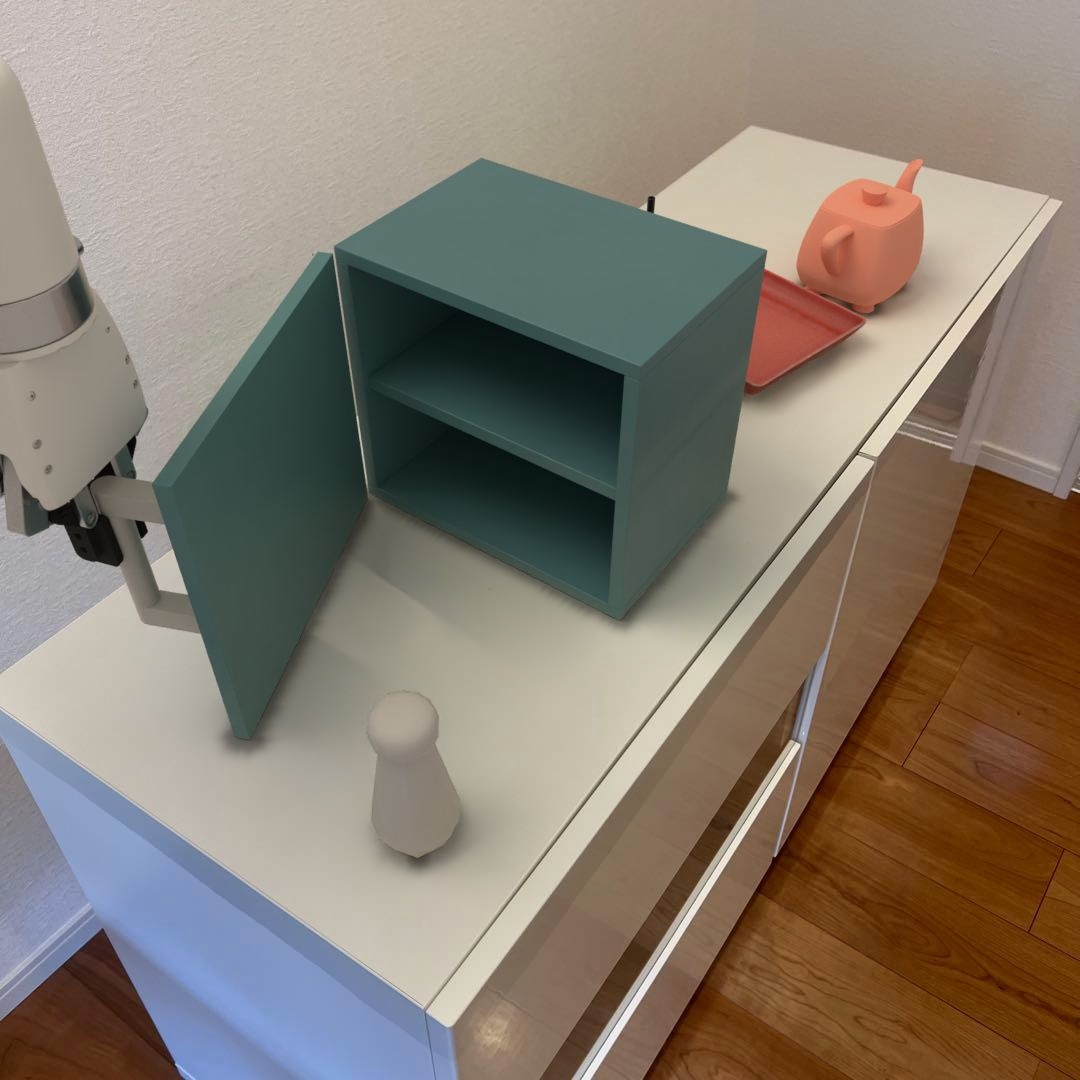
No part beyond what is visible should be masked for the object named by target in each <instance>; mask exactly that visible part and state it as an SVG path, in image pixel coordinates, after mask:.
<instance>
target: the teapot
mask: <svg viewBox="0 0 1080 1080" xmlns="http://www.w3.org/2000/svg"><path fill="white" fill-rule="evenodd" d="M923 164H924V160H923V159H921V158H917V159H914V160H912V161H910V162H909V163H908V164H907V166H906V167H905V169H903V171H902V174H901V175H900V177H899V179H898V180H897V181H896V184H895V185H894V186H892V185H890V184H886V183H882V182H880V181H876V180H872V179H868V178H857V179H853V180H851V181H848V182H846V183H845V184H843V185H841V186H839V187H837V188H836V189H835V190H834V191H832V192H831V193H830V194H829V195H827V197H826V198H825V199H824V200H823V201H822V203H821V205H820V206H819V208H818V210H817V211H816V213H815V214H814V217H813V218H812V220H811V222H810V224H809V225H808V227H807V230H806V231H805V234H804V236H803V238H802V241H801V243H800V247H799V250H798V253H797V258H796V265H795V266H796V272H797V275H798V278H799V280H800V282H801V283H802V284H803V285H805V286H804V288H806V289H807V290H810V291H811V292H813V293H816V294H818V295H824V294H825V295H828V296H830V297H833V298H835V299H838V300H841V301H844V302H846V303H849V304H851V307H852V309H853V310H854V311H856V312H859V313H861V314H870V313H872V312H874V310H875V305H877V304H880V303H882V302H883V301H885V300H887V299H888V298H890V297H892V296H893V295H895V294H896V293H898V292H899V291H900V290H901V289H902V288H903V287H904V286H905V284H906V283H907V282H908V281H909V280H910V279H911V278H912V276H913V275H914V273H915V271H916V270H917V268H918V265H919V263H920V260H921V257H922V253H923V252H922V251H923V246H924V236H925V235H924V234H925V222H924V208H923V201H922V198H921V197H920V196H919V195H917V194H915V193H913V190H914V185H915V182H916V178H917V175H918V173H919V172H920V170H921V168H922V167H923Z"/></svg>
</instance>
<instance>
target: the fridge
mask: <svg viewBox="0 0 1080 1080" xmlns="http://www.w3.org/2000/svg"><path fill="white" fill-rule="evenodd" d="M333 251H334V260H335V265H336V266H335V267H336V274H337V281H338V288H339V295H340V302H341V307H342V308H341V309H342V316H343V323H344V330H345V337H346V344H347V351H348V356H349V357H348V358H349V365H350V372H351V379H352V386H353V393H354V400H355V407H356V414H357V421H358V428H359V432H360V433H359V435H360V439H361V440H360V442H361V449H362V456H363V463H364V470H365V477H366V483H367V492H368V494H370V495H372V496H374V497H376V498H378V499H379V500H381V501H383V502H386V504H390V505H391V506H393V507H395V508H397V509H400V511H403V512H405V513H407V514H408V515H411V516H413V517H415V518H417V519H419V520H421V521H423V522H425V523H427V524H429V525H431V526H433V527H434V528H436V529H438V530H441V531H442V532H444V533H446V534H448V535H450V536H452V537H454V538H456V539H458V540H460V541H462V542H463V543H466V544H468V545H470V546H471V547H474V548H475V549H478V550H480V551H482V552H484V553H486V554H488V555H489V556H492V557H493V558H495V559H497V560H500V561H502V562H503V563H505V564H507V565H509V566H511V567H513V568H515V569H517V570H518V571H521V572H523V573H525V574H527V575H529V576H530V577H533V578H534V579H536V580H539V581H541V582H542V583H544V584H546V585H549V586H550V587H552V588H554V589H557V590H558V591H561V592H562V593H564V594H566V595H568V596H570V597H572V598H574V599H576V600H578V601H580V602H582V603H584V604H586V605H588V606H589V607H591V608H593V609H596V610H598V611H599V612H602V613H603V614H605V615H608V616H609V617H612V619H615V620H617V621H621V620H622V619H623V618H624V617H625V616H626V614H627V613H628V612H629V610H631V608H632V607H633V606H634V605H635V604H636V602H637V601H638V600H640V598H641V597H642V596H643V595H644V593H645V592H646V591H647V590H648V588H649V587H650V586H651V585H652V584H653V583H654V581H655V580H656V579H658V577H659V576H660V574H661V573H662V572H663V571H664V570H665V569H666V568H667V567H668V565H669V564H671V562H672V561H673V560H674V558H675V557H676V556H677V555H678V554H679V552H680V551H681V550H682V549H683V548H684V547H685V546H686V544H687V543H688V542H689V541H690V540H691V538H693V536H695V534H696V533H697V531H698V530H699V529H700V528H701V527H702V526H703V524H705V522H706V521H708V519H709V518H710V517H711V516H712V514H713V513H714V512H715V511H716V509H717V508H718V507H719V506H720V505H721V504H722V503H723V502H724V500H725V499H726V498H727V495H728V488H729V484H730V483H729V482H730V476H731V471H732V465H733V459H734V452H735V447H736V441H737V435H738V429H739V424H740V417H741V411H742V406H743V400H744V399H743V398H744V394H745V392H744V388H745V382H746V376H747V370H748V364H749V358H750V352H751V346H752V341H753V335H754V329H755V323H756V317H757V311H758V305H759V299H760V293H761V287H762V281H763V275H764V269H766V261H767V255H768V249H766V248H762V247H760V246H756V245H753V244H749V243H747V242H744V241H741V240H739V239H735V238H731V237H729V236H725V235H722V234H719V233H716V232H713V231H710V230H707V229H703V228H702V227H701V228H700V227H697V226H694V225H691V224H689V223H685V222H682V221H678V220H675V219H673V218H669V217H666V216H663V215H660V214H657V213H655V212H654V213H651V212H648V211H647V210H645V209H642V208H638V207H635V206H632V205H629V204H626V203H622V202H620V201H616V200H613V199H610V198H607V197H604V196H601V195H598V194H595V193H593V192H589V191H585V190H583V189H579V188H576V187H574V186H570V185H567V184H563V183H561V182H558V181H555V180H551V179H549V178H546V177H543V176H539V175H536V174H533V173H530V172H527V171H524V170H520V169H517V168H514V167H511V166H509V165H505V164H502V163H499V162H496V161H493V160H490V159H488V158H487V159H486V158H483V157H480V158H478V159H477V160H475V161H473V162H471V163H470V164H468V165H466V166H465V167H463V168H462V169H460V170H458V171H456V172H455V173H453V174H452V175H450V176H448V177H447V178H444V179H443V180H441V181H440V182H438V183H437V184H434V185H433V186H431V187H430V188H428V189H426V190H425V191H423V192H421V193H420V194H418V195H416V196H415V197H413V198H411V199H409V200H408V201H406V202H404V203H403V204H401V205H400V206H398V207H396V208H394V209H393V210H391V211H389V212H388V213H386V214H385V215H382V216H381V217H380V218H377V219H376V220H374V221H373V222H371V223H370V224H368V225H366V226H364V227H362V228H361V229H359V230H358V231H355V233H354V232H353V234H351V235H349V236H348V237H346V238H344V239H343V240H341V241H339V242H338V243H336V244H334V245H333Z"/></svg>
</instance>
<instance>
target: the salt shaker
mask: <svg viewBox="0 0 1080 1080" xmlns="http://www.w3.org/2000/svg"><path fill="white" fill-rule="evenodd" d="M366 719H367V721H366V736H367V740H368V742H369V744H370V746H371V748H372V750H373V752H374V753H375V754H376V763H375V764H376V765H375V773H374V774H375V775H374V784H373V792H372V802H371V817H370V821H371V823H372V825H373V828H374V829H375V831H376V833H377V836H378V837H379V840H380V841H381V842H383V843H384V844H385V845H387V846H388V847H390V848H391V849H393V850H395V851H396V852H400V853H402V854H403V853H404V854H406V855H408V856H410V857H412V858H416V859H418V858H421V857H423V856H425V855H428V854H429V853H432V852H433V851H436V850H438V849H440V848H442V847H444V845H445V844H446V843H447V842H448V841H449V839H450V838H451V837H452V834H453V832H454V830H455V828H456V827H457V825H458V823H459V820H460V812H461V811H460V806H461V805H460V804H461V798H460V796H459V794H458V791H457V789H456V788H455V787H456V786H455V785H454V783H453V781H452V778H451V776H450V774H449V771H448V769H447V767H446V765H445V763H444V760H443V758H442V756H441V754H440V751H439V749H438V747H437V745H436V742H437V740H438V739H439V737H440V736H439V734H440V733H439V732H440V716H439V713H438V711H437V709H436V708H435V706H434V703H433V702H432V701H431V699H429V698H428V697H426V696H425V695H423V694H422V693H420V692H417V691H411V690H404V689H403V690H399V691H393V692H389V693H387V694H385V695H384V696H382V697H380V698H379V699H377V700H376V701H374V703H373V705H372V706H371V708H370V709H369V711H368V712H367V718H366Z"/></svg>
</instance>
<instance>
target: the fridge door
mask: <svg viewBox="0 0 1080 1080" xmlns="http://www.w3.org/2000/svg"><path fill="white" fill-rule="evenodd" d="M335 265H336V264H335V257H334V253H332V252H324V251H317V252H316V253H315V255H314V256H313V258H312V259H311V260H310V261H309V263H308V265H306V267H305V269H304V270H303V271H302V272H301V275H300V276H299V277H298V278H297V280H296V281H295V282H294V284H293V285H292V287H291V288H290V289H289V291H288V292H287V294H286V295H285V297H284V298H283V299H282V301H281V302H280V304H279V305H278V307H276V309H275V311H274V312H273V313H272V315H271V316H270V317H269V319H268V321H266V324H265V325H264V326H263V327H262V329H261V330H260V331H259V333H258V334H257V336H256V337H255V339H253V342H251V344H250V346H249V347H248V349H247V350H246V351H245V353H244V354H243V356H242V357H241V358H240V360H239V361H238V362H237V363H236V365H235V367H234V368H233V369H232V371H231V372H230V373H229V375H228V376H227V377H226V379H225V381H224V382H223V383H222V385H221V386H220V387H219V389H218V390H217V392H216V393H215V395H214V396H213V397H212V399H211V400H210V401H209V403H208V404H207V406H205V408H204V410H203V411H202V413H201V414H200V415H199V417H198V419H197V420H196V421H195V423H194V424H193V426H192V427H191V428H190V430H189V431H188V432H187V434H186V435H185V437H184V438H183V439H182V441H181V442H180V444H179V445H177V446H178V447H177V448H176V449H175V451H173V453H172V455H171V456H170V457H169V459H168V460H167V462H166V463H165V465H164V466H163V467H162V468H161V470H160V471H159V472H158V474H157V476H156V477H155V479H154V480H153V481H150V480H145V479H144V480H142V479H138V478H136V479H131V478H124V477H118V476H103V477H100V478H98V479H96V480H95V481H94V482H93V483H92V484H91V487H90V490H91V493H92V495H93V498H94V500H95V503H96V506H97V508H98V511H99V513H100V514H101V515H104V516H106V517H108V519H109V520H110V523H111V525H112V528H113V530H114V533H115V536H116V538H117V541H118V543H119V546H120V548H121V551H122V553H123V556H124V557H123V559H124V560H123V562H122V563H121V564H120V565H119V568H120V570H121V574H122V576H123V578H124V581H125V583H126V586H127V589H128V591H129V594H130V596H131V599H132V602H133V605H134V607H135V609H136V612H137V615H138V617H139V620H140V621H141V623H142V624H144V625H148V626H151V627H158V628H164V629H170V630H176V631H181V632H187V633H193V634H198V635H199V634H200V636H201V638H202V642H203V645H204V648H205V651H206V654H207V657H208V660H209V663H210V666H211V669H212V672H213V675H214V678H215V681H216V685H217V687H218V690H219V694H220V697H221V699H222V702H223V703H222V704H223V705H224V706H223V707H224V708H225V711H226V715H227V718H228V720H229V724H230V727H231V730H232V732H233V736H234V738H239V739H243V740H244V739H245V740H251V738H253V735H254V733H255V731H256V729H257V727H258V724H259V722H260V720H261V718H262V716H263V715H264V712H265V710H266V709H267V706H268V704H269V702H270V700H271V698H272V696H273V694H274V692H275V690H276V688H277V686H278V683H279V682H280V680H281V677H282V675H283V673H284V672H285V670H286V667H287V665H288V663H289V661H290V659H291V657H292V655H293V653H294V651H295V649H296V647H297V645H298V643H299V640H300V639H301V636H302V635H303V632H304V630H305V628H306V626H307V625H308V623H309V620H310V618H311V616H312V614H313V612H314V610H315V608H316V605H318V602H319V600H320V598H321V595H322V593H323V592H324V589H325V588H326V586H327V584H328V581H329V580H330V577H331V575H332V573H333V571H334V569H335V567H336V565H337V563H338V561H339V560H340V558H341V555H342V552H343V550H345V547H346V545H347V542H348V540H349V538H350V537H351V534H352V532H353V530H354V529H355V526H356V525H357V522H358V521H359V518H360V516H361V514H362V512H363V510H364V508H365V506H366V504H367V502H368V500H369V492H368V485H367V478H366V472H365V465H364V458H363V451H362V444H361V440H360V439H361V437H360V433H359V432H360V430H359V423H358V416H357V409H356V402H355V395H354V388H353V381H352V375H351V368H350V361H349V357H348V356H349V354H348V347H347V340H346V333H345V326H344V319H343V312H342V308H341V307H342V305H341V298H340V291H339V284H338V277H337V271H336V266H335ZM135 520H139V521H145V523H153V524H159V525H164V526H165V531H166V532H167V536H168V539H169V542H170V545H171V548H172V551H173V554H174V557H175V561H176V563H177V566H178V569H179V572H180V575H181V578H182V580H183V585H184V588H185V590H186V593H187V594H186V593H180V592H174V591H168V590H163V589H160V588H159V585H158V582H157V579H156V577H155V574H154V572H153V571H154V570H153V568H152V565H151V563H150V560H149V557H148V554H147V551H146V549H145V545H144V543H143V541H142V539H141V537H140V534H139V532H138V529H137V526H136V523H135Z"/></svg>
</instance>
